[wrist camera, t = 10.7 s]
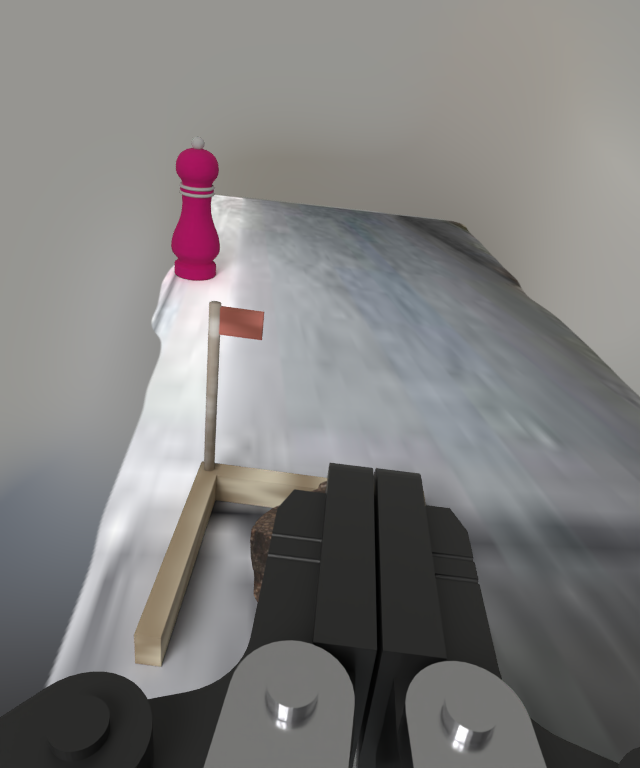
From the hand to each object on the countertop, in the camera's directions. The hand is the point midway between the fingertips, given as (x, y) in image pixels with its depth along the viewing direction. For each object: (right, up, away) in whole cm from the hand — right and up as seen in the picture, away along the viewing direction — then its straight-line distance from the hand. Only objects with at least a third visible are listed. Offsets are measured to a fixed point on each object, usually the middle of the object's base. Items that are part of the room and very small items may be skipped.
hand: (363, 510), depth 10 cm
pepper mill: (-20, +19, +83) cm, 88 cm away
